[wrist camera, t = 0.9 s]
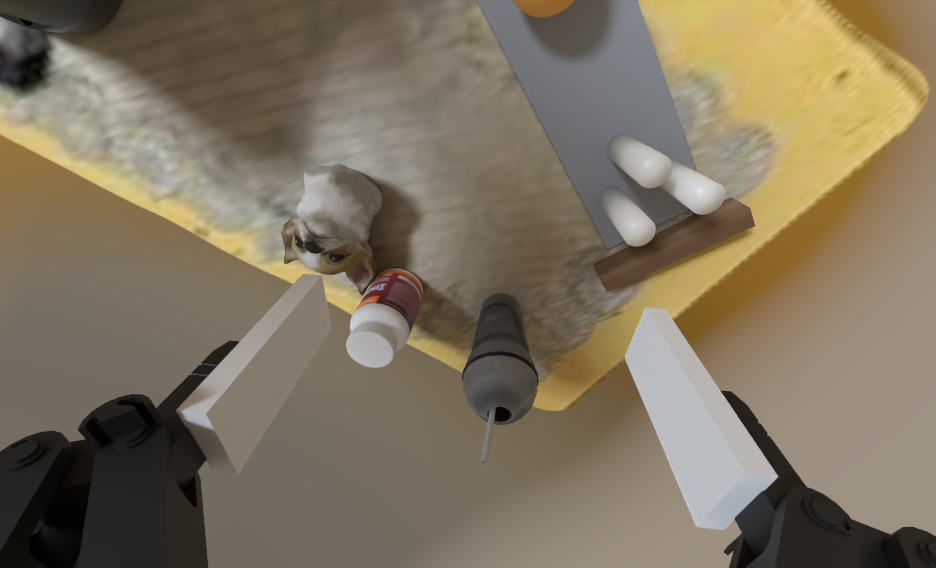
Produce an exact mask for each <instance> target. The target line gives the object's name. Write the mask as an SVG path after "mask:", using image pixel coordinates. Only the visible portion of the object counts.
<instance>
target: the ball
mask: <svg viewBox="0 0 936 568" xmlns="http://www.w3.org/2000/svg"><path fill="white" fill-rule="evenodd" d="M512 1H513V3H514V4H515V5H516V6H517V7H518V8H519V9H520V10H521V11H522V12H524V13H526V14H528V15H530V16H533V17H538V18H545V17H550V16H553V15H556V14H558V13H560V12H562V11H563V10H565V9H566V8H568V7H569V6H570V5H571V4H572V3H573V2H574V1H575V0H512Z"/></svg>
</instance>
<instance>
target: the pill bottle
mask: <svg viewBox="0 0 936 568" xmlns="http://www.w3.org/2000/svg"><path fill="white" fill-rule="evenodd" d="M422 298H423V288H422V285H421V283H420V281H419V280H418V278H417V277H416V276H415V275H413V274H412V273H410V272H409V271H406V270H403V269H399V268H391V269H387V270H384V271H382V272H381V273H380V274H379V275H378V276H377V277H376V278H375V280H374V282H373V283H372V285H371V286H370V288H369V290H368V291H367V293H366V295H365V296H364V298H363V300H362V301H361V303H360V304H359V306H358V307H357V309H356V311H355V312H354V314H353V316H352V318H351V322H350V329H351V334H350V336H349V338H348V340H347V343H346V347H347V351H348V353H349V355H350V356H351V357H352V358H353V359H354V360H355V361H356V362H358V363H360V364H361V365H364V366H367V367H372V368H377V367H378V368H379V367H383V366H385V365H387V364H389V363H390V362H391V360H392V359H393V357H394V355H395V353H396V351H398V350H399V349H401V348H402V347H403V346H404V345H405V344H406V342H407V340H408V338H409V335H410V332H411V330H412V327H413V324H414V321H415V319H416V316H417V313H418V310H419V307H420V305H421V302H422Z"/></svg>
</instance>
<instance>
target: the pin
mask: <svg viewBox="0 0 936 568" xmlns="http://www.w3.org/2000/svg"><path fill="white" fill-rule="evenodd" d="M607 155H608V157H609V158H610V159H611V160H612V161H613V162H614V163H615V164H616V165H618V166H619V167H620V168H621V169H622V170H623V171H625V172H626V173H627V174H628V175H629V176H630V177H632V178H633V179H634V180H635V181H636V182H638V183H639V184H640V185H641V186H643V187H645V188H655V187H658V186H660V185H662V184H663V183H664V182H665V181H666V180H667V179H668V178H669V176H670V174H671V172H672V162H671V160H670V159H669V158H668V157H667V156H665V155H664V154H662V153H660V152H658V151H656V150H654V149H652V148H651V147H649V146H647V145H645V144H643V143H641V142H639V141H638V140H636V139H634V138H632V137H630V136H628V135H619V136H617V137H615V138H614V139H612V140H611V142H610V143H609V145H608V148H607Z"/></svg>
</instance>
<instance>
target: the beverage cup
mask: <svg viewBox="0 0 936 568" xmlns="http://www.w3.org/2000/svg"><path fill="white" fill-rule="evenodd" d="M462 380H463V388H464V393H465V397H466V400H467V403H468V404H469V406H470V407H471V409H472V410H473V411H474V413H475V414H476V415H477V416H479V417H480V418H482V419H483V420H485V421H487V422H488V424H487V429H486V434H485V440H484V446H483V451H482V457H481V463H482V464H484V465H485V464H487V461H488V455H489V448H490V443H491V436H492V430H493V424H498V425H504V424H509V423H513V422H515V421H517V420H519V419H521V418H522V417H523V416H524V415H525V414H526V413H527V412H528V411H529V410H530V408H531V407H532V405H533V402H534V399H535V397H536V393H537V386H538V382H539V381H538V373H537V371H536V369H535V366H534V363H533V361H532V358H531V357H530V354H529V349H528V345H527V340H526V335H525V331H524V326H523V321H522V317H521V312H520V310H519V306H518V303H517V301H516V300H515V299H514V298H513V297H511V296H509V295H505V294H495V295H492V296H490V297H489V298H487V299H486V300H485V302H484V303H483V307H482V310H481V313H480V317H479V322H478V326H477V330H476V335H475V339H474V343H473V348H472V352H471V354H470V356H469V358H468V361H467V363H466V366H465V368H464V369H463V375H462Z"/></svg>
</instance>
